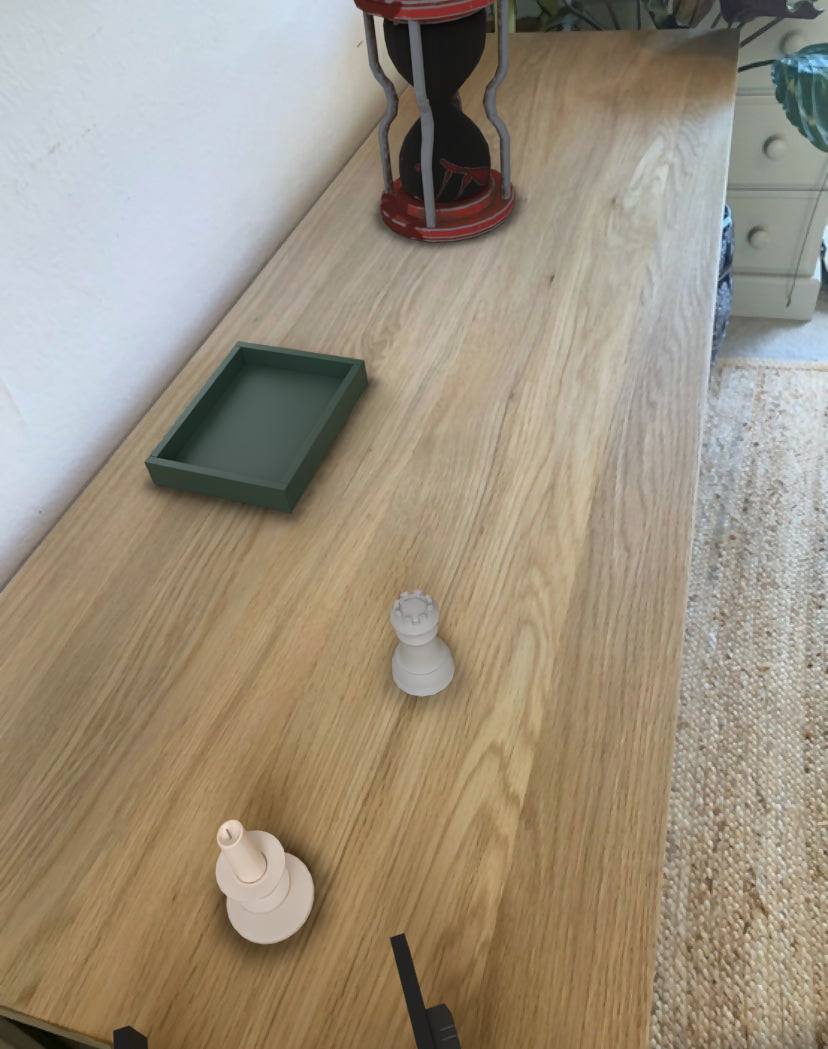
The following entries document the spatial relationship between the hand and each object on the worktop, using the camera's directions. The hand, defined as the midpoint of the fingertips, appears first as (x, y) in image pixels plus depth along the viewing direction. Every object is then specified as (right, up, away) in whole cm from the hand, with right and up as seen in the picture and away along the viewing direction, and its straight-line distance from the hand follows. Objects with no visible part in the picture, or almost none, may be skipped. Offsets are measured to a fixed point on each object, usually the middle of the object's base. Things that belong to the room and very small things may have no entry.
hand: (267, 986), depth 42 cm
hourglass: (+11, +61, +61) cm, 87 cm away
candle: (-1, 0, +9) cm, 9 cm away
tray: (-6, +31, +37) cm, 49 cm away
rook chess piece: (+8, +12, +18) cm, 23 cm away
